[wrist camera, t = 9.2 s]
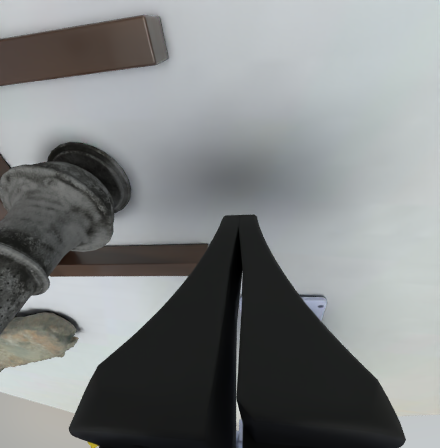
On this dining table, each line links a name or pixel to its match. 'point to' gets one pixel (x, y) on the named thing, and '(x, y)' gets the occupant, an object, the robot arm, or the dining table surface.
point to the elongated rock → (35, 339)
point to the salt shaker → (54, 217)
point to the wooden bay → (88, 64)
